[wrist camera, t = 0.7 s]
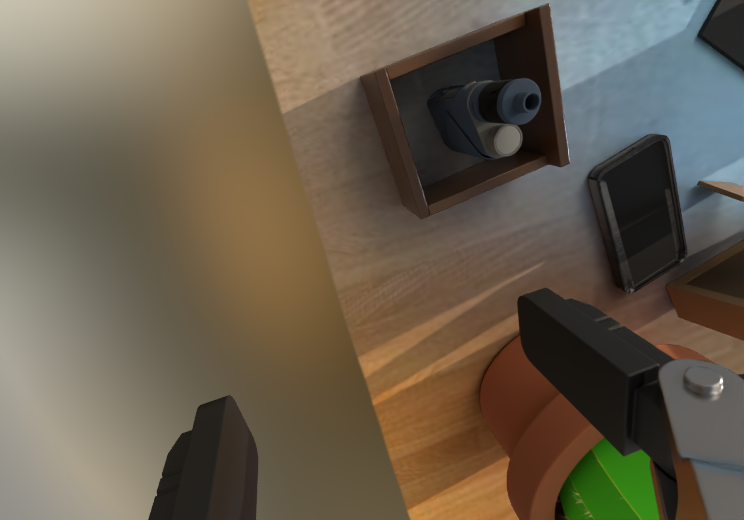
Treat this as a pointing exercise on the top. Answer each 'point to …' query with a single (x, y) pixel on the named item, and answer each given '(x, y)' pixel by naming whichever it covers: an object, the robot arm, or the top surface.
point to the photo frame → (715, 283)
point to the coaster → (726, 30)
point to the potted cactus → (562, 448)
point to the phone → (640, 212)
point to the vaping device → (485, 115)
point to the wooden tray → (516, 61)
